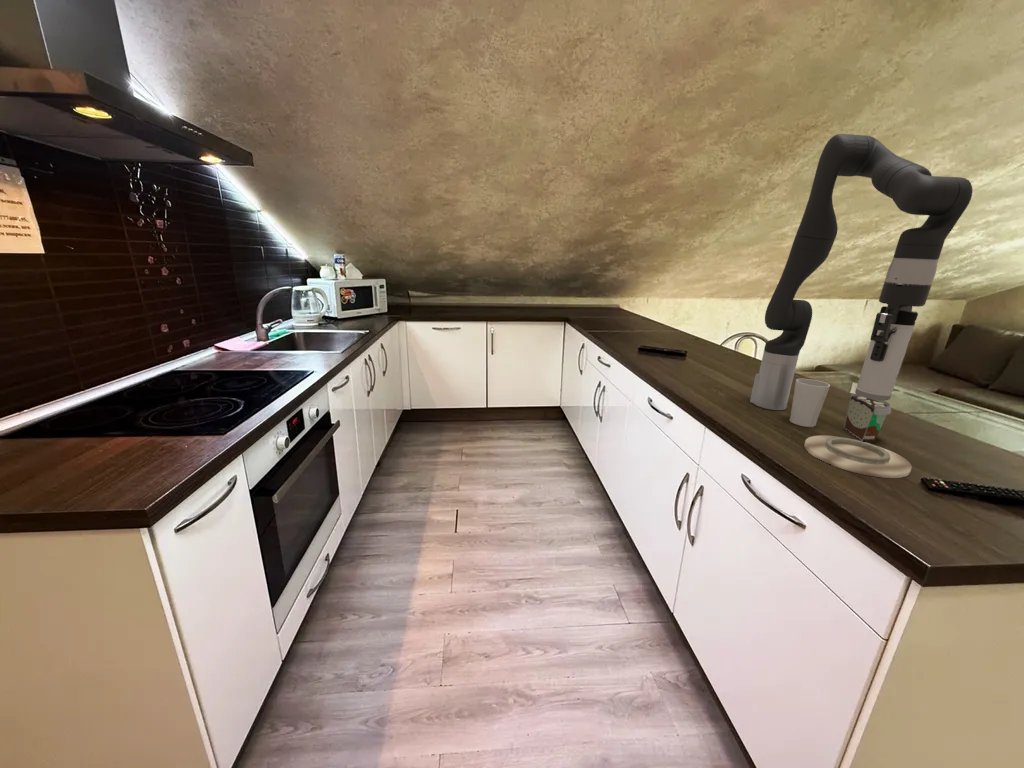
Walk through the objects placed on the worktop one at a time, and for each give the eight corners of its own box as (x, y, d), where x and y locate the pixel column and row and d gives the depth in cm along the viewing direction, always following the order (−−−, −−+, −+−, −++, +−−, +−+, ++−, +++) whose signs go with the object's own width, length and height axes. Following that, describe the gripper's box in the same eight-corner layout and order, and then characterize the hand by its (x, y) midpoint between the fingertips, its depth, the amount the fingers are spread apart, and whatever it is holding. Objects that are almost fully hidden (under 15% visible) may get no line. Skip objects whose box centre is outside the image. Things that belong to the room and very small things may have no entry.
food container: (892, 446, 110) (904, 409, 107) (865, 443, 111) (876, 407, 108) (865, 428, 121) (875, 394, 118) (840, 426, 122) (850, 392, 119)
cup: (821, 423, 124) (832, 383, 120) (816, 430, 118) (827, 388, 115) (789, 415, 129) (799, 377, 126) (783, 422, 123) (793, 381, 120)
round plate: (787, 448, 106) (790, 439, 105) (828, 434, 116) (830, 426, 115) (887, 486, 89) (891, 475, 89) (924, 466, 99) (928, 456, 99)
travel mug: (846, 391, 101) (872, 304, 94) (872, 391, 101) (900, 305, 95) (869, 400, 95) (899, 308, 89) (897, 401, 95) (928, 310, 89)
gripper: (900, 280, 97) (877, 352, 102) (871, 280, 90) (848, 358, 95) (944, 283, 91) (917, 360, 96) (917, 283, 84) (889, 366, 89)
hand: (883, 359), depth 95 cm, fingers closed on travel mug, 6 cm apart
